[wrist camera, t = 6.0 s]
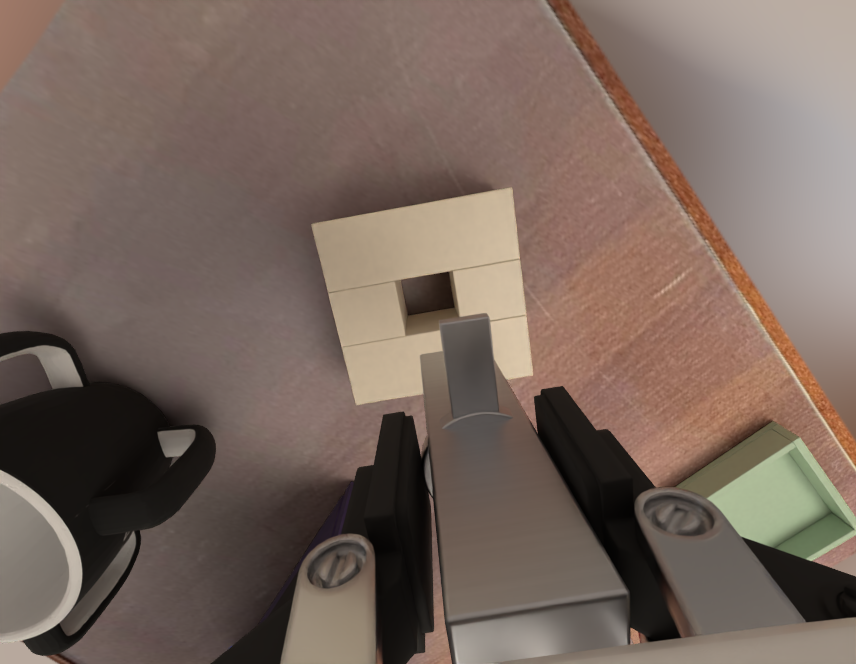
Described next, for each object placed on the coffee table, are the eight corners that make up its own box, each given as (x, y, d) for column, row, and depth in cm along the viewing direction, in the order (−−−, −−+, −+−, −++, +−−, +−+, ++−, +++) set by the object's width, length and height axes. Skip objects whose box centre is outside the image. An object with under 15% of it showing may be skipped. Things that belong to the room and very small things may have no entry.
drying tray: (772, 420, 34) (800, 437, 31) (835, 508, 36) (865, 530, 34) (613, 527, 36) (627, 550, 34) (682, 602, 39) (699, 628, 36)
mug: (143, 554, 36) (14, 717, 25) (-34, 435, 33) (-281, 561, 21) (266, 432, 33) (184, 554, 22) (85, 287, 30) (-128, 340, 18)
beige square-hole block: (328, 220, 29) (310, 223, 24) (496, 189, 28) (512, 186, 23) (365, 375, 32) (355, 405, 27) (516, 349, 31) (533, 375, 27)
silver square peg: (400, 285, 16) (388, 453, 5) (486, 272, 16) (657, 412, 5) (431, 472, 18) (467, 857, 7) (506, 460, 18) (651, 827, 7)
